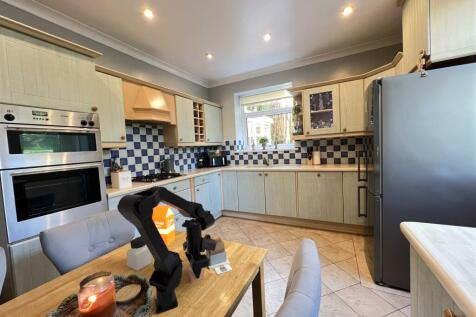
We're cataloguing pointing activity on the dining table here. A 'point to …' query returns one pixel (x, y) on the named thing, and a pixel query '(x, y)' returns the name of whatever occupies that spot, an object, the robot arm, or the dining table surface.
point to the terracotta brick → (192, 275)
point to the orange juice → (164, 222)
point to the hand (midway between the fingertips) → (196, 274)
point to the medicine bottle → (138, 254)
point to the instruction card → (223, 269)
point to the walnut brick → (218, 247)
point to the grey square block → (217, 260)
